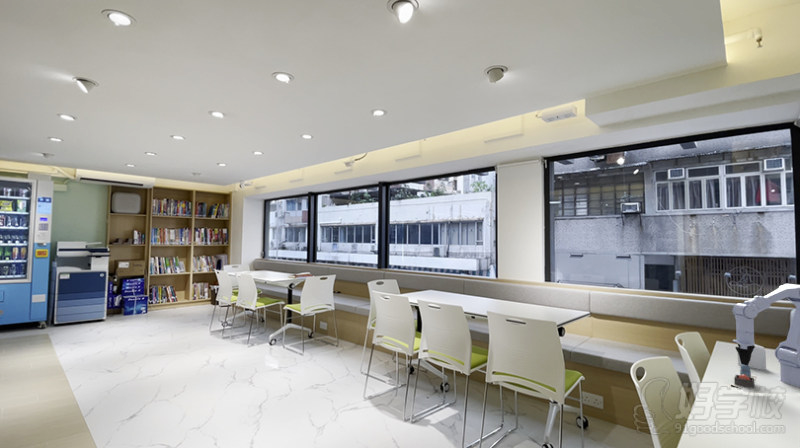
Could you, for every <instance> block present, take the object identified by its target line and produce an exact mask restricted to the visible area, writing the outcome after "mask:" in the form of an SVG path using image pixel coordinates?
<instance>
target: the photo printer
mask: <svg viewBox="0 0 800 448" xmlns="http://www.w3.org/2000/svg"><path fill="white" fill-rule="evenodd" d="M754 346H755V348H754V349H753V352H752V354H751V359H750V362H749V364H748V366H749V367H750V369H751V368H752V369H756V370H757V369H758V370H762V371H767V358H766V357H767V356H766V349H765V347H764V346H762V345H759V344H756V343H755V345H754ZM737 347H739V346H738V345H737ZM737 364H738V366H741V365H743V364H741V361H740V357H739V354H738V353H737Z"/></svg>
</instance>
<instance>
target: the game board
mask: <svg viewBox="0 0 800 448" xmlns="http://www.w3.org/2000/svg"><path fill="white" fill-rule="evenodd" d="M739 376H740V374H735V376H734V378H733V379H734V385H733V384H730V387H731V388H736V389H740V390H742V388H740V387H738V386H741V387H745V388H750V389H754V388H755V383H756V379H757V377H758V375H756V374H752V373H751V377H749V378H750V380H751V381H750V380H746V379H741V378H739ZM736 385H737V386H736Z"/></svg>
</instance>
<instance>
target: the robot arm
mask: <svg viewBox="0 0 800 448" xmlns="http://www.w3.org/2000/svg"><path fill="white" fill-rule="evenodd" d="M784 299H786V300H788V301H790V302H791V303H792V304H793V305H794V306H795V310H794V313H793V316H792V320H791V324H790V327H789V330H788V333H787V337H786V340H784V341H781V342H779V344H778V347H776V348H775V350H774V357H775V358H776V360H778V363H779V366H780V367H779V368H780V369H779V370H780V371H779V372H780V382H782V383H784V384H787V385H790V386H794V387H797V388H800V284H793V283H789V282H788V283H784V284H783V285H779V287H778V288H776V289H775V290H773V291H772V292H770V293H768V294H767V295H764V296H763V295H755V296H753V298H750V299H749V300H745V301H744V302H742V303H740V302H739V303H736V304H735V305H733V307H732V308H731V311H732V314H733V315H734V319H735V325H736V326H735V328H736V329H735V331H736V333H735V334H736V335H735V336H736V339H732V342H733V343H737V346H735V350H736V352H737V355H738V354H739V357H740V361H741V364H743V365H748V364H749V362H750V359H751V354H752V352H753V349H754V348H755V346H754V345H755V344H756V343H755V328H754V327H755V324H754V322H755V321H754V319H755V318H757V316H758V314H759V313H760V312H763V311H765V310H767V309H769V308H770V307H771V304H773V303H776V302H779V301H780V300H784ZM738 346H739V347H738Z"/></svg>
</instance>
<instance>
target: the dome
mask: <svg viewBox="0 0 800 448" xmlns="http://www.w3.org/2000/svg"><path fill="white" fill-rule="evenodd" d="M739 375H740V374H739ZM739 378H741V379H746V380H750V378H749V377H748V376H747V375H740V376H739ZM750 381H751V380H750Z"/></svg>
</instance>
